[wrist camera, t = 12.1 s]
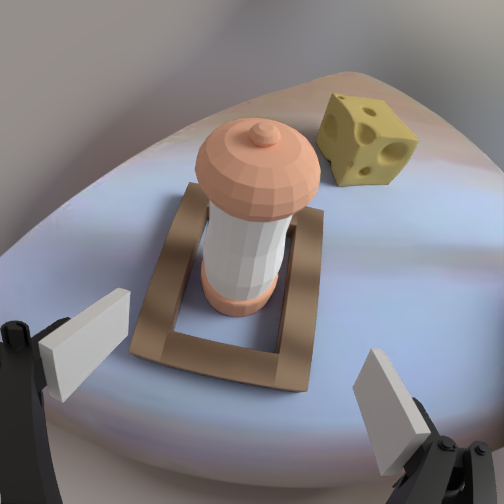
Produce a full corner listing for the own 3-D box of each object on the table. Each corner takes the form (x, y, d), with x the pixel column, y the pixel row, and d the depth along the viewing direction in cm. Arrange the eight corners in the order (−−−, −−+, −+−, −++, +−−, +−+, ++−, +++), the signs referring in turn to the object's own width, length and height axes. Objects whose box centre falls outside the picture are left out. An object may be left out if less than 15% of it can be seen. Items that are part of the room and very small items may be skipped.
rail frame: (299, 392, 25) (307, 391, 23) (135, 356, 25) (128, 352, 22) (317, 222, 35) (323, 210, 33) (190, 195, 35) (189, 182, 33)
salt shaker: (195, 309, 28) (170, 163, 11) (210, 247, 31) (212, 85, 15) (267, 322, 28) (342, 195, 11) (275, 259, 32) (332, 107, 15)
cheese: (337, 189, 38) (364, 134, 30) (311, 140, 43) (328, 89, 35) (392, 187, 41) (422, 141, 32) (363, 142, 46) (384, 97, 37)
